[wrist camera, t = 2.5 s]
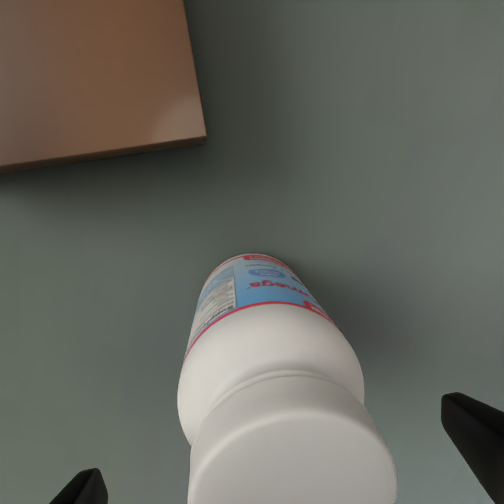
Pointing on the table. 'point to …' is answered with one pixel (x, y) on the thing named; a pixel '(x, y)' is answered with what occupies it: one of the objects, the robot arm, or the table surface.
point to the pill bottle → (276, 397)
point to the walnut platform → (95, 81)
